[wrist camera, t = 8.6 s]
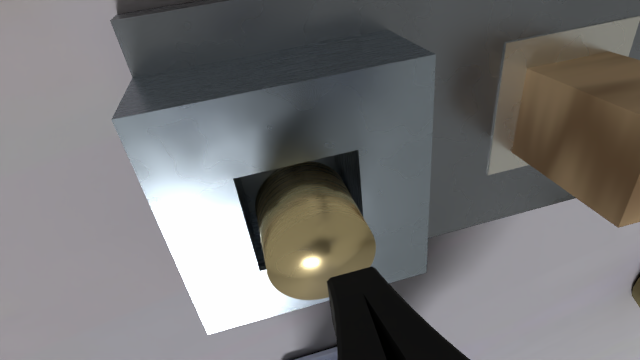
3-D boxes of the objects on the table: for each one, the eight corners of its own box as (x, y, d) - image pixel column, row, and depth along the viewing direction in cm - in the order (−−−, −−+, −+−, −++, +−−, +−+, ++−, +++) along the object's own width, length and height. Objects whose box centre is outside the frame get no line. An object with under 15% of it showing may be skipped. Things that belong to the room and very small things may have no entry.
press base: (615, 173, 26) (697, 221, 21) (217, 279, 22) (220, 361, 18) (705, -83, 18) (861, -89, 14) (116, 14, 14) (79, 48, 10)
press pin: (349, 226, 17) (377, 283, 14) (265, 248, 16) (277, 311, 13) (341, 151, 15) (373, 201, 12) (245, 174, 14) (255, 231, 11)
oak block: (585, 134, 21) (712, 201, 16) (511, 152, 21) (618, 227, 15) (609, 51, 19) (769, 97, 14) (527, 68, 18) (660, 123, 13)
